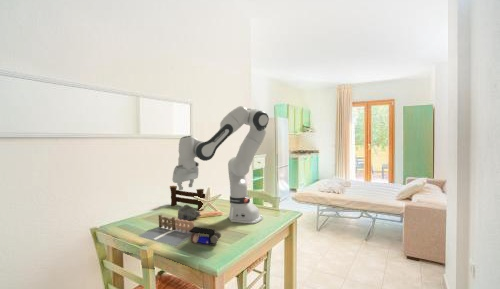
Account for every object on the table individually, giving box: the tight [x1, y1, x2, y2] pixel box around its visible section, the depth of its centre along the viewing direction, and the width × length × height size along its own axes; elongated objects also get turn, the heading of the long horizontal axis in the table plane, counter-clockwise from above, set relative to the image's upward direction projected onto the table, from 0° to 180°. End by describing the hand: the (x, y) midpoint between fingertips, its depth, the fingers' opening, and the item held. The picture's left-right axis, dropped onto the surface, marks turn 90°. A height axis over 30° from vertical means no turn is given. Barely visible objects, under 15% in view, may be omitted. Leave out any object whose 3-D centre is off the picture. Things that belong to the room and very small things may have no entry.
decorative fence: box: [169, 185, 206, 211], centre depth 189 cm, size 34×6×15 cm, turn 62°
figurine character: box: [189, 226, 222, 246], centre depth 127 cm, size 7×8×15 cm
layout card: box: [138, 225, 193, 247], centre depth 140 cm, size 28×22×1 cm
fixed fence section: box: [158, 214, 177, 230], centre depth 147 cm, size 12×2×7 cm, turn 62°
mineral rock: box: [177, 204, 202, 221], centre depth 161 cm, size 13×11×10 cm
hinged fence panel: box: [175, 218, 195, 233], centre depth 141 cm, size 13×2×6 cm, turn 62°
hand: (185, 188), depth 143 cm, fingers open, 8 cm apart
